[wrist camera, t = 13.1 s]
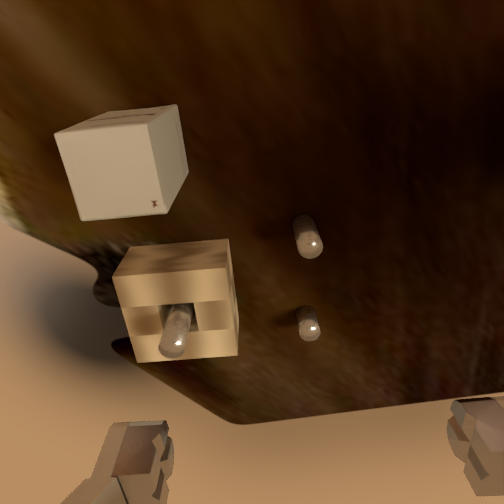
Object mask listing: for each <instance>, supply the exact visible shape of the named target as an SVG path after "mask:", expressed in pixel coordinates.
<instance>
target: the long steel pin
mask: <svg viewBox="0 0 504 504" xmlns="http://www.w3.org/2000/svg"><path fill="white" fill-rule="evenodd" d="M193 310H194V303H193V302H192V303H179V304H172V305H171V308H170V311H169V315H168V318H167V321H166V324H165V327H164V330H163V333H162V337H161V340H160V343H159V346H158V349H159V352H160V353H161V354H162V355H163V356H165V357H167V358H171V359H174V358H178V357H180V356H182V355H183V353H184V350H185V346H186V341H187V337H188V332H189V328H190V324H191V319H192V315H193Z"/></svg>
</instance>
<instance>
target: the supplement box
mask: <svg viewBox="0 0 504 504" xmlns="http://www.w3.org/2000/svg"><path fill="white" fill-rule="evenodd" d="M54 137H55V139H56V143H57V146H58V149H59V152H60V155H61V158H62V161H63V164H64V167H65V170H66V173H67V176H68V180H69V183H70V186H71V190H72V193H73V196H74V200H75V203H76V206H77V210H78V213H79V217H80V219H81V220H82V221H93V220H102V219H113V218H126V217H134V216H144V215H155V214H167V213H168V211H169V209H170V207H171V205H172V203H173V201H174V199H175V198H176V196H177V194H178V192H179V190H180V188H181V186H182V184H183V182H184V180H185V178H186V177H187V175H188V173H189V170H188V164H187V158H186V153H185V147H184V141H183V135H182V129H181V123H180V117H179V112H178V106H177V105H176V104H174V105H168V106H161V107H153V108H142V109H132V110H121V111H108V112H106V113H103V114H101V115H98V116H96V117H93V118H91V119H88V120H86V121H83V122H81V123H78V124H76V125H74V126H72V127H69V128H66V129H64V130H62V131H59V132H57V133H54Z"/></svg>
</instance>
